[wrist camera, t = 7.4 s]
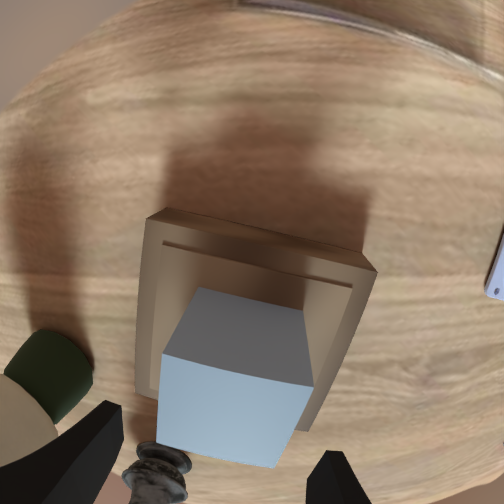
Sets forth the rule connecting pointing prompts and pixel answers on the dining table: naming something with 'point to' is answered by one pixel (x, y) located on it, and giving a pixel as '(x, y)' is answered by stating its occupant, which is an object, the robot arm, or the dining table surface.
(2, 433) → the character mug
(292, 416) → the blue block
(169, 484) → the salt shaker
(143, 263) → the walnut plinth
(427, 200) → the dining table surface
